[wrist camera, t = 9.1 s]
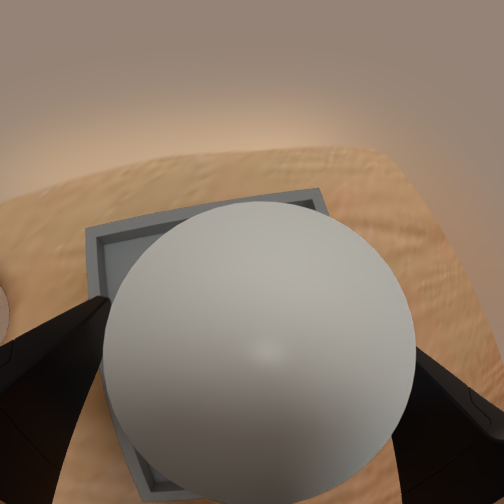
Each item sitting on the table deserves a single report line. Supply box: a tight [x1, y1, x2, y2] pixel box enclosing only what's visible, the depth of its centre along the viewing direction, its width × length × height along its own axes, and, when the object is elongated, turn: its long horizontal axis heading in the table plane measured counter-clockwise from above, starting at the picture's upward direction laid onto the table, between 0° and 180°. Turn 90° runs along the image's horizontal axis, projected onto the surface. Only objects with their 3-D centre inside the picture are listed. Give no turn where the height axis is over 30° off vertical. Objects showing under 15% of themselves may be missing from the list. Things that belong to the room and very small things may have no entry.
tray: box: [85, 188, 330, 502], centre depth 16 cm, size 18×16×2 cm
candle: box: [103, 201, 416, 504], centre depth 10 cm, size 6×6×13 cm
